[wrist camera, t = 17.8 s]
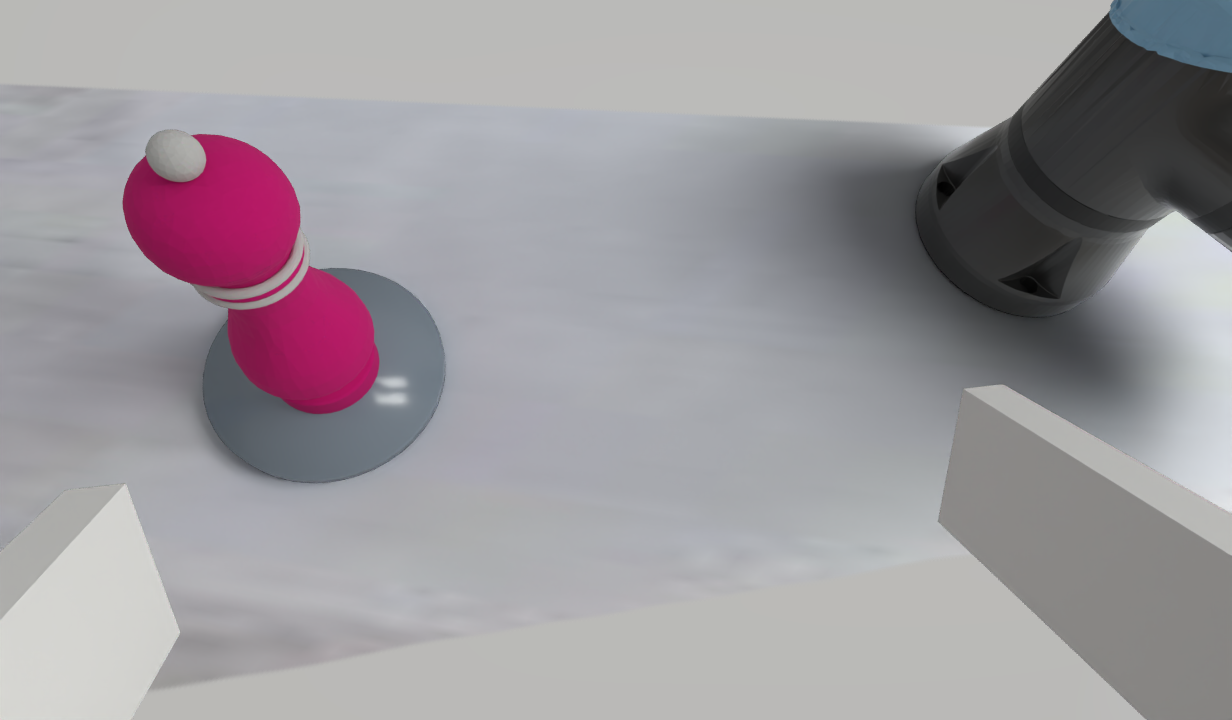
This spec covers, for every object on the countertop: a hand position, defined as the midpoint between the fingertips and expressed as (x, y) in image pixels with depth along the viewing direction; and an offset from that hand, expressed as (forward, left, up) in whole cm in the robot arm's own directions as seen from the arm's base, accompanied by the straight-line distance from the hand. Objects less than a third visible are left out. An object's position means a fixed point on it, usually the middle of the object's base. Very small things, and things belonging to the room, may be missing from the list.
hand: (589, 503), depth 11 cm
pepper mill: (+5, -19, -29) cm, 35 cm away
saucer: (+5, -19, -30) cm, 35 cm away
